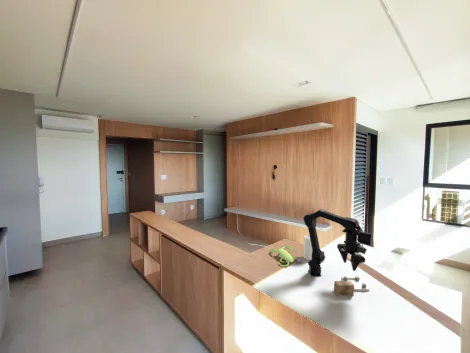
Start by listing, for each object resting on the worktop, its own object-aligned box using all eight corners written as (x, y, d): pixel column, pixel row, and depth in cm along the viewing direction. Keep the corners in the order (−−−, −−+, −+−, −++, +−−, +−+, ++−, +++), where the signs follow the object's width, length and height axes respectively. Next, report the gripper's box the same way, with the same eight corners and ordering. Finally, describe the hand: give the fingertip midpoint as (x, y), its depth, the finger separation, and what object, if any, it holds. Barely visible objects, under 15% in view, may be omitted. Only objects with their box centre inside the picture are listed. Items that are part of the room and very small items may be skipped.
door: (337, 295, 119) (337, 285, 119) (333, 291, 123) (334, 281, 123) (354, 295, 119) (355, 285, 119) (350, 291, 123) (351, 281, 123)
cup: (313, 261, 157) (314, 240, 156) (302, 258, 162) (302, 237, 160) (315, 256, 164) (316, 236, 163) (304, 254, 169) (305, 234, 167)
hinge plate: (349, 290, 123) (349, 285, 123) (341, 280, 133) (341, 275, 133) (368, 290, 123) (369, 285, 123) (358, 280, 133) (359, 275, 133)
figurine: (289, 249, 177) (289, 243, 177) (305, 266, 151) (306, 258, 151) (268, 251, 174) (268, 244, 174) (280, 268, 148) (280, 260, 148)
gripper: (375, 247, 115) (373, 275, 117) (354, 234, 134) (353, 258, 135) (355, 247, 115) (353, 275, 116) (337, 234, 133) (336, 258, 135)
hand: (349, 266), depth 126 cm, fingers open, 9 cm apart
